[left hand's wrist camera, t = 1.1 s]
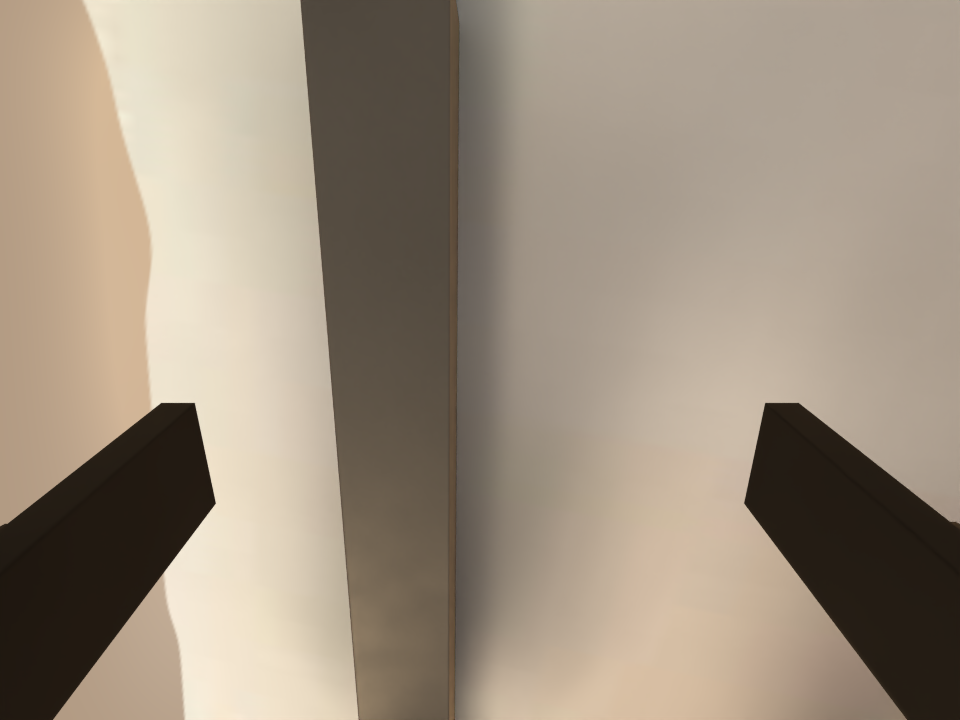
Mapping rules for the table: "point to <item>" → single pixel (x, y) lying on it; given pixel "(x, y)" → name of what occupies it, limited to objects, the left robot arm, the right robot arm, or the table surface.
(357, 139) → the post
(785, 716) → the table surface
